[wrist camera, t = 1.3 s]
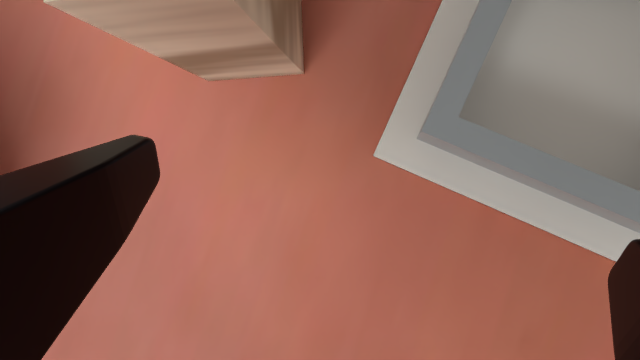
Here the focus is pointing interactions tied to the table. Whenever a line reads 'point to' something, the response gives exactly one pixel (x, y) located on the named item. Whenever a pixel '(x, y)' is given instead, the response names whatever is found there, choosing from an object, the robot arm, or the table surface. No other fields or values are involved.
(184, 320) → the table surface
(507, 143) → the box holder
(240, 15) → the birch block
